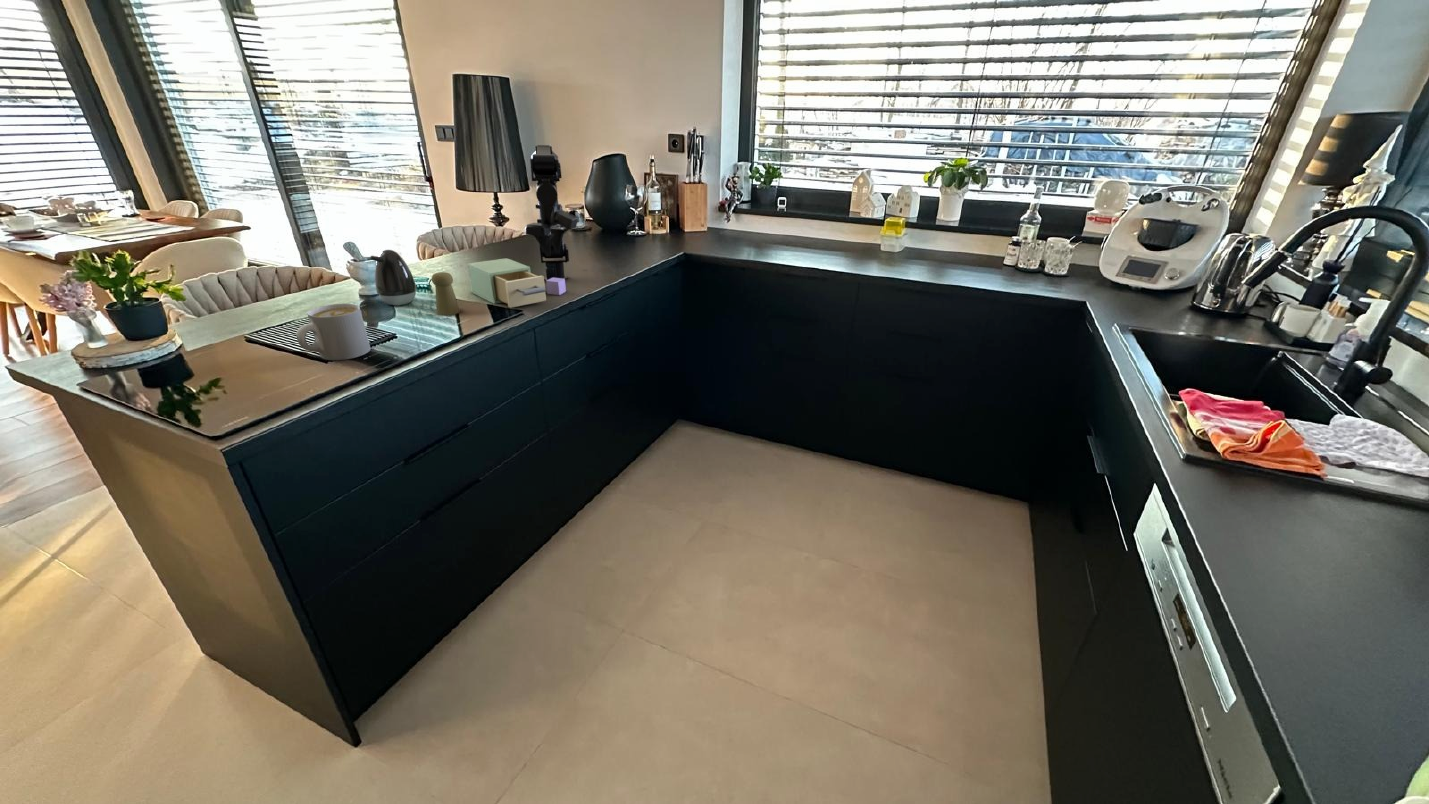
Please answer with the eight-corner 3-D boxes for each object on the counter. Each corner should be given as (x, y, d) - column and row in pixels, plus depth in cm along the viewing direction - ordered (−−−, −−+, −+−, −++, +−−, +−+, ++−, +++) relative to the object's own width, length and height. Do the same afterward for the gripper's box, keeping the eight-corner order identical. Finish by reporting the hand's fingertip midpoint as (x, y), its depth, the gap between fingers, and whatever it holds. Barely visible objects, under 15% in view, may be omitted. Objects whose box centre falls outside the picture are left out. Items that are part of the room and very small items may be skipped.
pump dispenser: (371, 304, 159) (357, 250, 152) (404, 295, 167) (392, 244, 160) (394, 310, 155) (381, 255, 148) (427, 301, 163) (416, 249, 156)
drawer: (554, 304, 162) (552, 279, 159) (518, 311, 155) (515, 286, 152) (523, 290, 174) (520, 267, 170) (488, 297, 166) (484, 272, 163)
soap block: (554, 290, 178) (552, 277, 176) (565, 291, 177) (564, 278, 175) (547, 293, 174) (545, 280, 173) (559, 295, 174) (558, 282, 172)
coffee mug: (361, 340, 134) (350, 300, 129) (377, 352, 128) (366, 310, 124) (296, 355, 125) (282, 312, 120) (310, 368, 119) (296, 324, 115)
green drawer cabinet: (533, 296, 171) (530, 266, 167) (494, 304, 163) (489, 273, 159) (510, 286, 180) (506, 258, 176) (472, 292, 172) (467, 263, 168)
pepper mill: (454, 307, 159) (448, 269, 154) (463, 312, 155) (456, 273, 150) (433, 311, 155) (425, 272, 150) (441, 316, 152) (433, 276, 147)
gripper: (556, 207, 153) (561, 263, 161) (587, 199, 170) (590, 250, 177) (521, 204, 156) (527, 260, 163) (554, 196, 172) (559, 247, 179)
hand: (553, 254), depth 170 cm, fingers open, 5 cm apart
